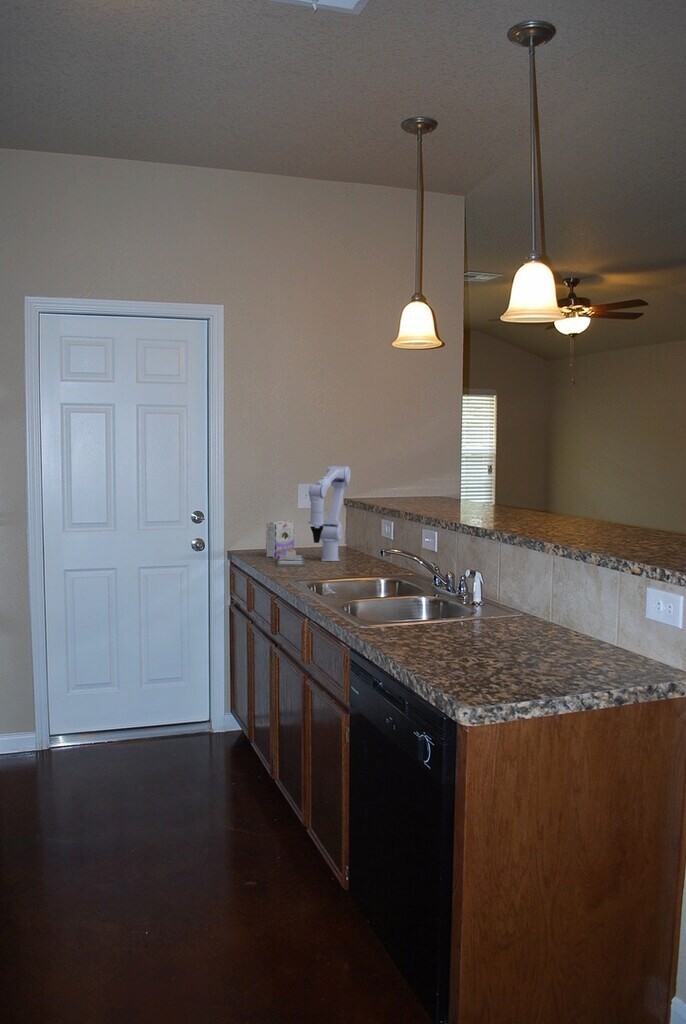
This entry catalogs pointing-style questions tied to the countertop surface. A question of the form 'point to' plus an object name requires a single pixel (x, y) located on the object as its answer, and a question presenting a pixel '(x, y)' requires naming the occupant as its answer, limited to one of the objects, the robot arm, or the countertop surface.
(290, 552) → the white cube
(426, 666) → the countertop surface
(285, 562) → the rail mat
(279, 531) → the candy box
